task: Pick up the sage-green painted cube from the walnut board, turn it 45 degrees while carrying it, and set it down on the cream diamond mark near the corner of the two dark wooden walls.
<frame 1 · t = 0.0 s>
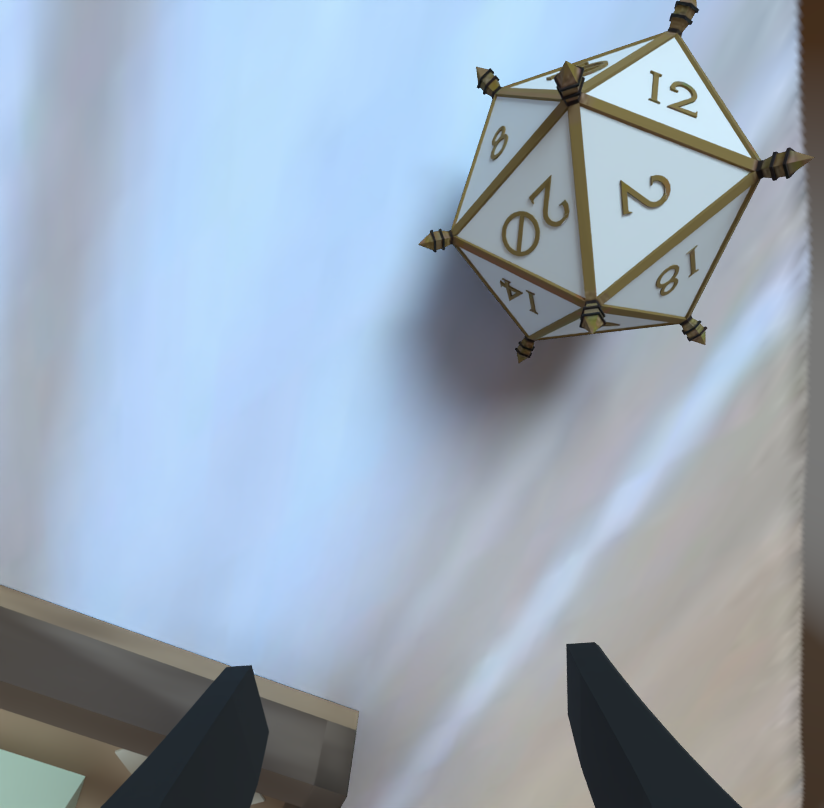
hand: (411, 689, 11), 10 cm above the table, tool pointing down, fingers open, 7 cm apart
sage cube: (28, 792, 26), point 1 cm above the table, touching arena
arena: (120, 777, 27), on the table
game die: (554, 216, 18), on the table
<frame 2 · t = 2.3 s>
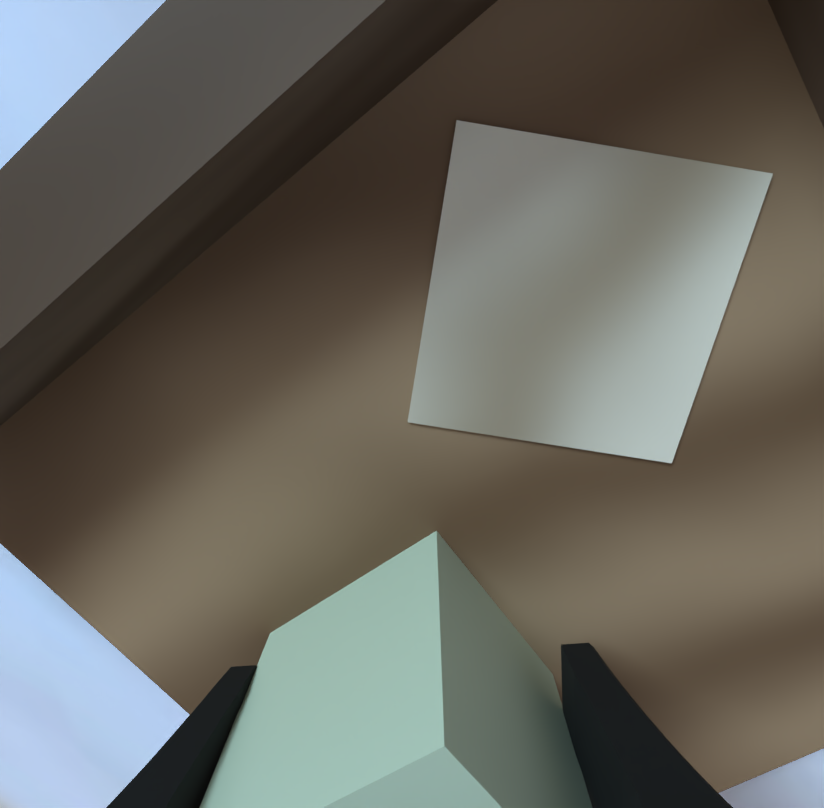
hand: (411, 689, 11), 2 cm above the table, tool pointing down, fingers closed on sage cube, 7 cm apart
sage cube: (412, 653, 12), point 1 cm above the table, touching arena, gripper
arena: (509, 506, 12), on the table
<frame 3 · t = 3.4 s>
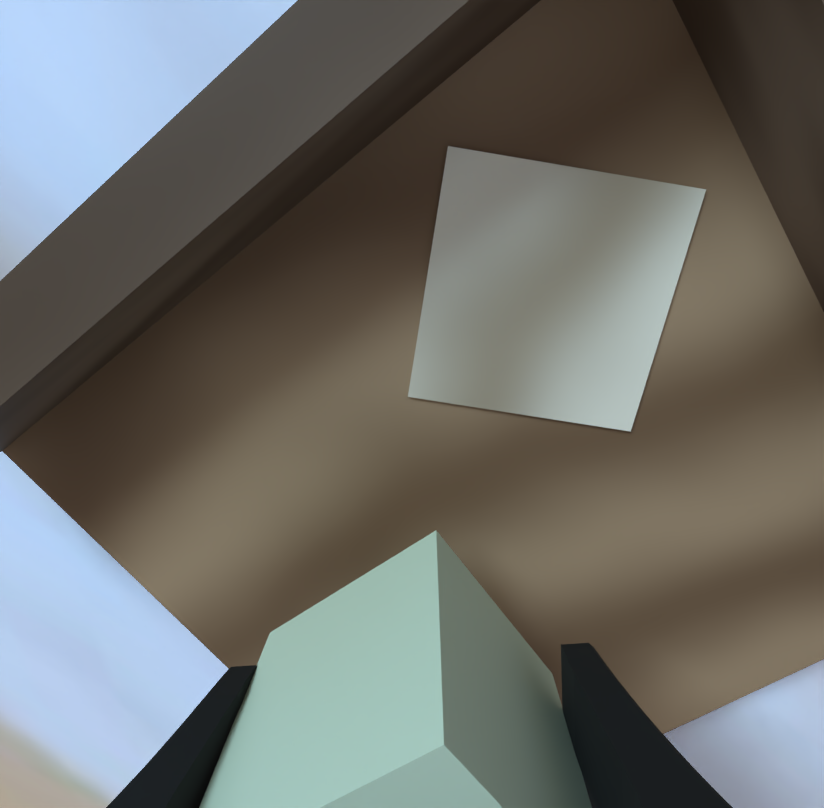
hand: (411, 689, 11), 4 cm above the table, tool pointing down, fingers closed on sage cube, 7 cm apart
sage cube: (412, 653, 12), point 3 cm above the table, touching gripper
arena: (495, 473, 14), on the table
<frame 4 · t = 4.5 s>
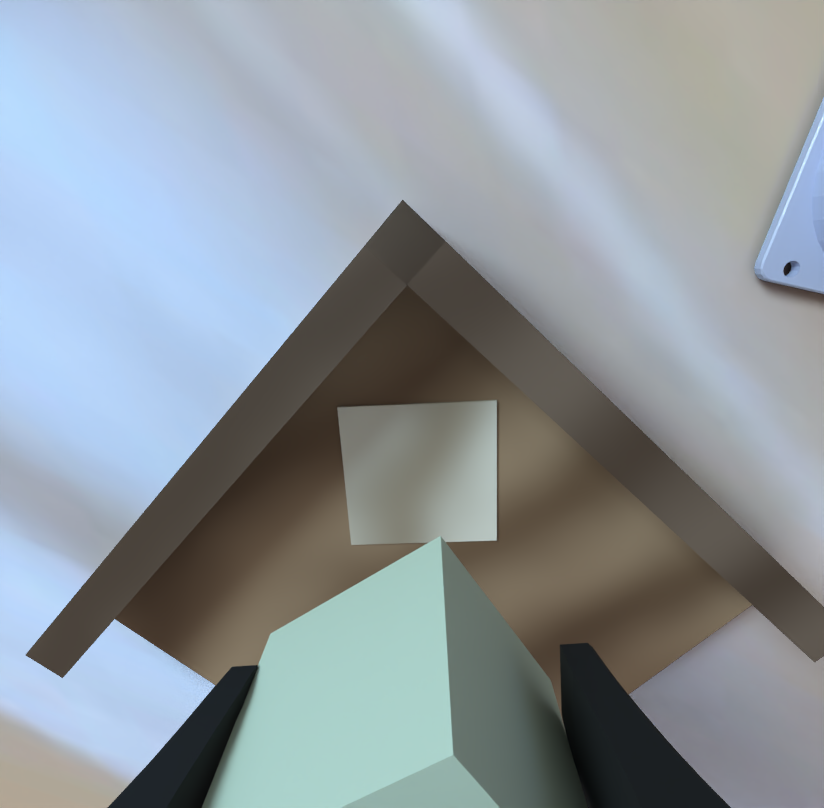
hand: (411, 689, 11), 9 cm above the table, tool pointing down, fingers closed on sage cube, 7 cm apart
sage cube: (411, 657, 12), point 8 cm above the table, touching gripper
arena: (425, 572, 21), on the table
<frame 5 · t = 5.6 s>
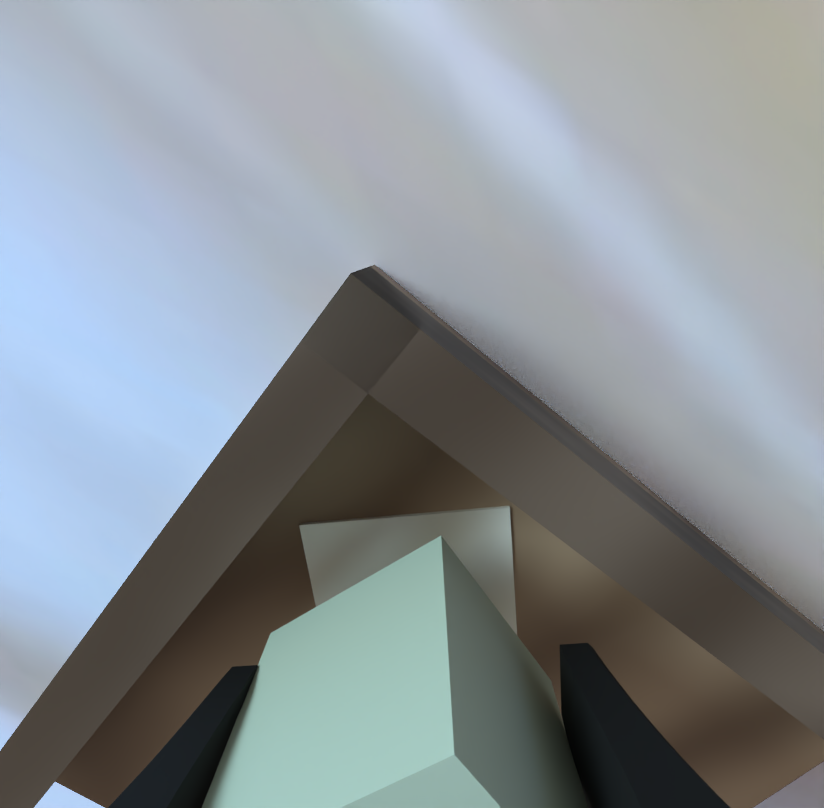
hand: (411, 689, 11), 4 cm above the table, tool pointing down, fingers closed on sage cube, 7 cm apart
sage cube: (412, 656, 12), point 3 cm above the table, touching gripper
arena: (431, 703, 16), on the table
when the fingers open (3 cm above the table, at t = 6.4 s): sage cube drops 1 cm, resting on arena.
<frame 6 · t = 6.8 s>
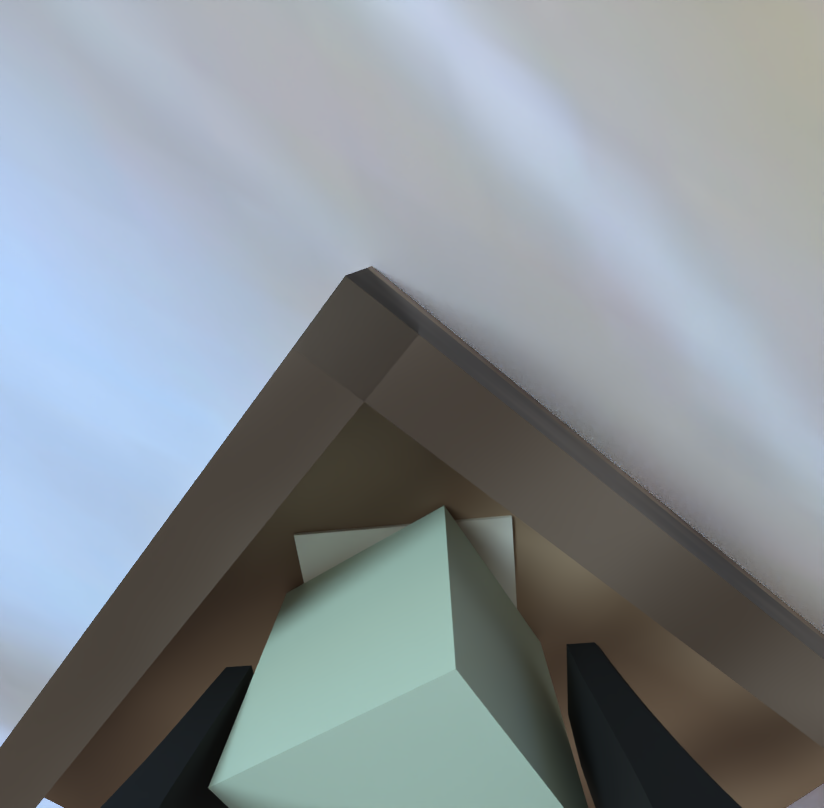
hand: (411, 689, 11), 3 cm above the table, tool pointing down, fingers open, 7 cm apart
sage cube: (414, 617, 13), point 1 cm above the table, touching arena
arena: (431, 716, 16), on the table
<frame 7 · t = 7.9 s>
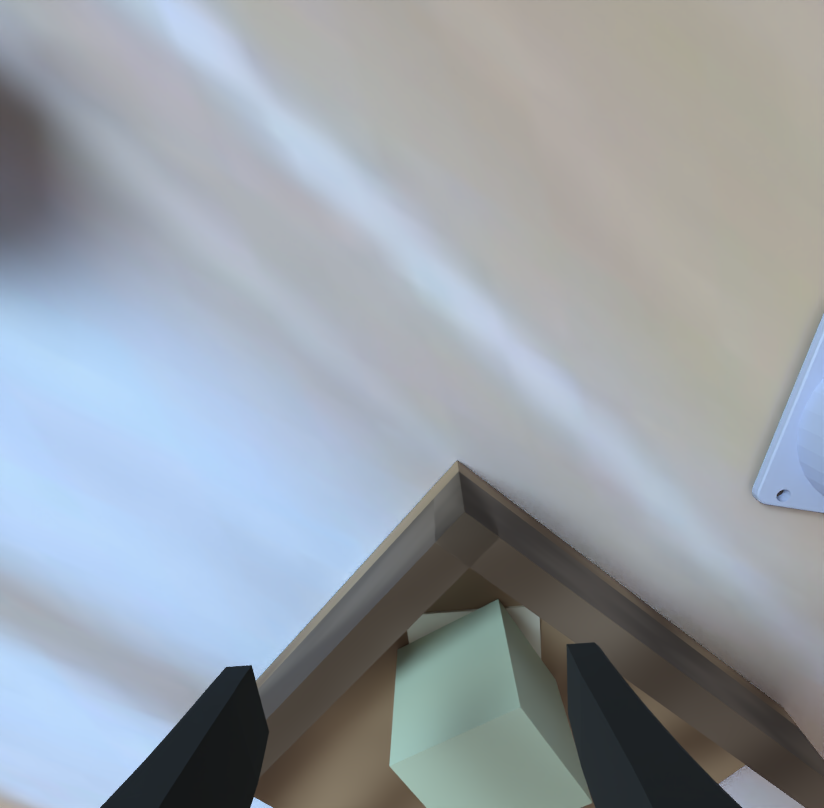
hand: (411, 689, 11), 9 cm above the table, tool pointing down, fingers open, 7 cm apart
sage cube: (477, 664, 21), point 1 cm above the table, touching arena
arena: (481, 725, 24), on the table
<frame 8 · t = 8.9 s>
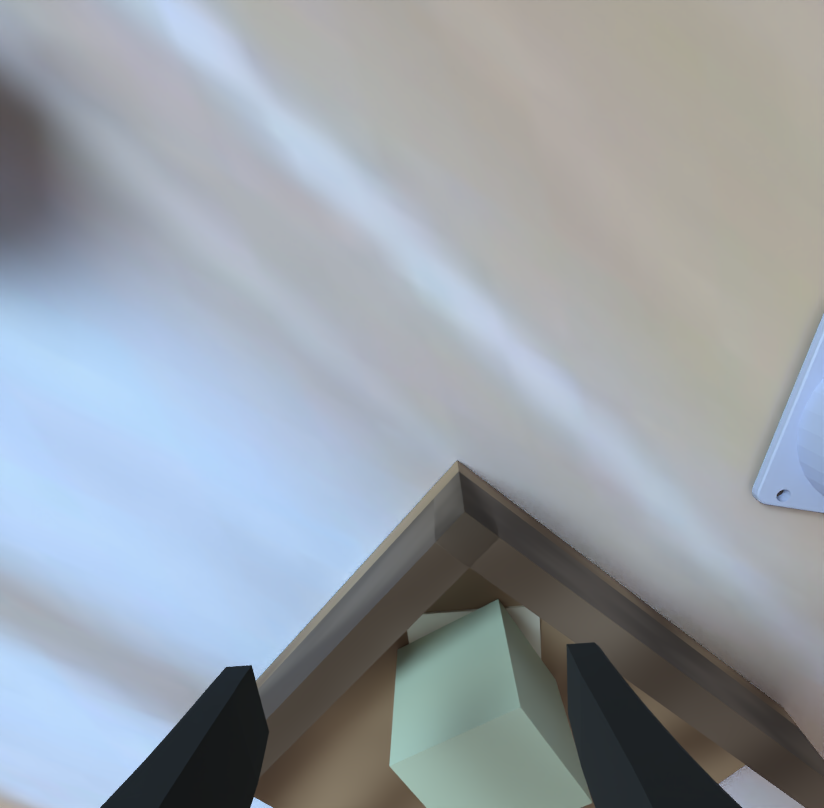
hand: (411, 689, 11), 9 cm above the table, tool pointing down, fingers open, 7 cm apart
sage cube: (477, 664, 21), point 1 cm above the table, touching arena
arena: (481, 725, 24), on the table
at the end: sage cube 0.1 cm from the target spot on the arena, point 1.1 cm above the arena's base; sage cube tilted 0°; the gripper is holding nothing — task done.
